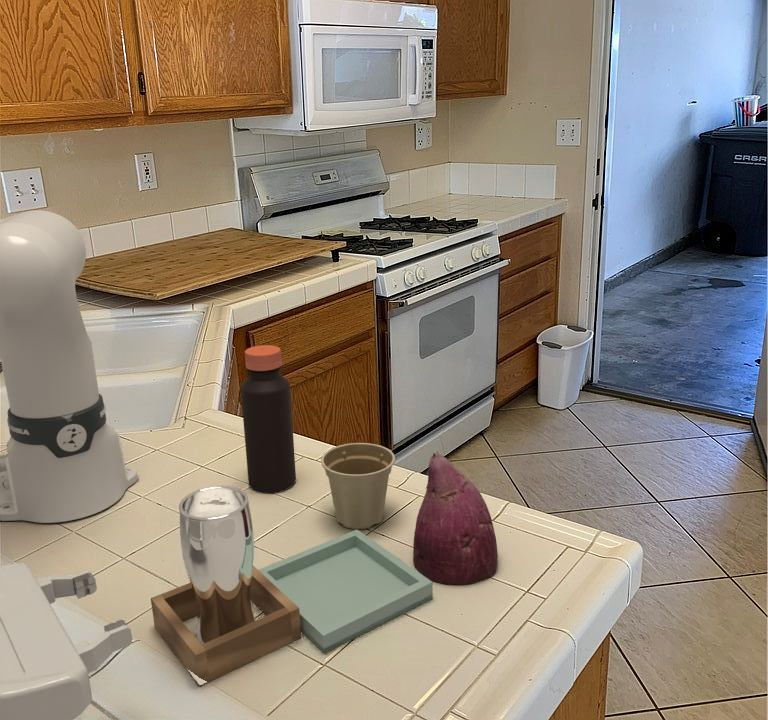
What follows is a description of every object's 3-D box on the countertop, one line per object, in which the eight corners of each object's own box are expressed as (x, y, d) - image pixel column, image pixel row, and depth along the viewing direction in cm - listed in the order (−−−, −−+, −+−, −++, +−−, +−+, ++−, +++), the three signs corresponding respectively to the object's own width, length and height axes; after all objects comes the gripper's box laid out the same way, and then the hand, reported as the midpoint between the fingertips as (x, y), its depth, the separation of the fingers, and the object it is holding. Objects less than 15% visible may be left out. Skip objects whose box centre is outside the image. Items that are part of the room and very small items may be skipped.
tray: (255, 587, 85) (254, 571, 84) (357, 544, 93) (356, 529, 92) (324, 653, 74) (323, 635, 73) (432, 598, 82) (432, 582, 81)
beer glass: (231, 602, 82) (219, 478, 77) (275, 628, 78) (265, 498, 73) (177, 636, 77) (161, 504, 72) (221, 665, 73) (207, 528, 68)
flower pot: (406, 528, 96) (406, 467, 93) (335, 543, 93) (332, 480, 90) (382, 495, 104) (380, 438, 102) (315, 508, 101) (312, 449, 99)
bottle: (263, 499, 104) (253, 361, 98) (239, 482, 109) (228, 349, 103) (305, 484, 108) (297, 350, 102) (280, 468, 113) (271, 340, 107)
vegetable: (400, 587, 89) (363, 475, 86) (451, 540, 96) (417, 434, 93) (471, 603, 82) (433, 481, 78) (520, 551, 89) (487, 436, 86)
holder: (154, 626, 78) (150, 598, 77) (249, 587, 85) (247, 559, 84) (199, 686, 70) (195, 655, 69) (301, 637, 76) (299, 608, 75)
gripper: (-74, 637, 69) (80, 581, 77) (-32, 785, 54) (156, 696, 62) (-89, 578, 67) (71, 527, 75) (-49, 713, 52) (147, 631, 60)
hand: (110, 604), depth 68 cm, fingers open, 8 cm apart
